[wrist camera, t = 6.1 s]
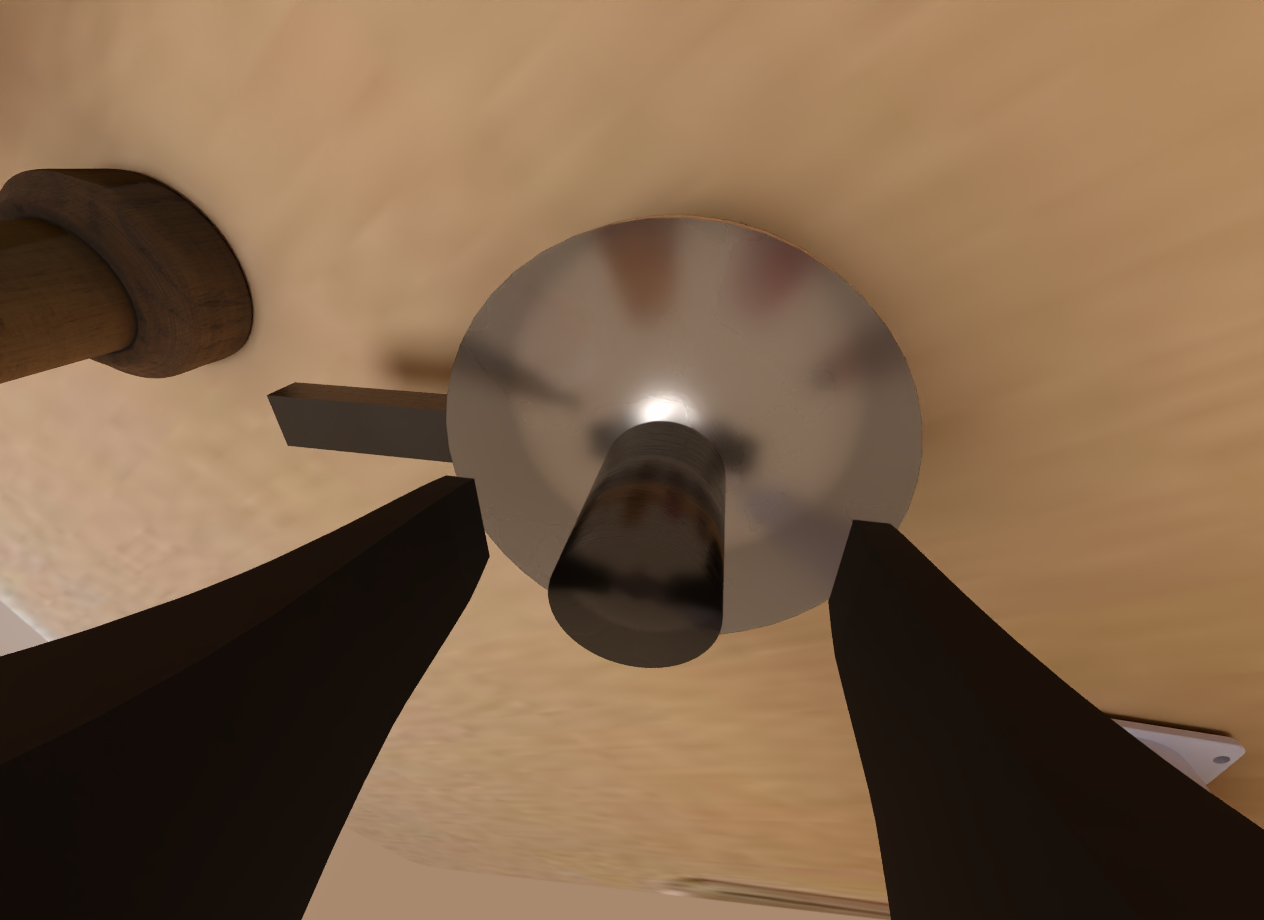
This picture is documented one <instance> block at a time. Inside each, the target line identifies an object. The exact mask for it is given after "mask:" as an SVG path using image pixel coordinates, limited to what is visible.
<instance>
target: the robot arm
mask: <svg viewBox="0 0 1264 920" xmlns="http://www.w3.org/2000/svg"><path fill="white" fill-rule="evenodd" d="M489 557H490V556H489V551H488V546H487V541H486V535H485V530H484V525H483V520H482V515H481V510H480V505H479V500H478V495H477V490H476V485H475V480H474V478H465V477H455V476H444V477H442V478H439V479H437V480H434V481H432V482H430V483H428V484H426V485H424V486H422V487H420V488H418V489H416V490H413V491H411V492H409V493H408V494H406V495H404V496H402V497H400V498H398V499H396V500H394V501H392V502H390V503H388V504H386V505H384V506H382V507H380V508H378V509H376V510H374V511H372V512H370V513H368V514H367V515H365V516H363V517H361V518H359V519H357V520H355V521H353V522H351V523H349V524H347V525H345V526H343V527H341V528H339V529H337V530H335V531H333V532H331V533H329V534H327V535H324V536H322V537H320V538H318V539H316V540H314V541H312V542H310V543H308V544H306V545H303V546H301V547H299V548H297V549H295V550H293V551H291V552H289V553H287V554H284V555H282V556H280V557H278V558H276V559H274V560H272V561H269V562H267V563H265V564H262V565H260V566H258V567H256V568H253V569H251V570H249V571H246V572H244V573H241V574H239V575H237V576H234V577H232V578H229V579H227V580H224V581H222V582H219V583H217V584H214V585H212V586H209V587H207V588H204V589H202V590H199V591H197V592H194V593H191V594H189V595H186V596H183V597H181V598H178V599H175V600H172V601H170V602H167V603H164V604H161V605H158V606H155V607H152V608H149V609H147V610H144V611H141V612H138V613H135V614H132V615H129V616H126V617H124V618H121V619H118V620H115V621H112V622H109V623H106V624H103V625H101V626H98V627H95V628H92V629H89V630H86V631H83V632H80V633H76V634H73V635H70V636H67V637H63V638H60V639H57V640H54V641H50V642H47V643H44V644H41V645H38V646H35V647H31V648H28V649H25V650H21V651H17V652H14V653H11V654H7V655H4V656H0V920H301V919H302V917H303V915H304V913H305V910H306V908H307V906H308V903H309V901H310V899H311V897H312V894H313V892H314V890H315V888H316V885H317V883H318V881H319V878H320V876H321V874H322V872H323V869H324V867H325V865H326V863H327V860H328V858H329V856H330V854H331V851H332V849H333V847H334V845H335V843H336V840H337V838H338V836H339V834H340V832H341V830H342V828H343V826H344V824H345V821H346V819H347V817H348V815H349V813H350V811H351V809H352V807H353V805H354V802H355V800H356V798H357V796H358V794H359V792H360V790H361V788H362V786H363V783H364V781H365V779H366V777H367V776H368V774H369V772H370V770H371V768H372V766H373V764H374V762H375V760H376V758H377V756H378V754H379V752H380V750H381V748H382V746H383V744H384V742H385V740H386V738H387V736H388V734H389V732H390V730H391V728H392V726H393V724H394V723H395V721H396V719H397V718H398V716H399V714H400V712H401V711H402V709H403V707H404V705H405V704H406V702H407V700H408V699H409V697H410V696H411V694H412V692H413V691H414V689H415V688H416V686H417V684H418V683H419V681H420V680H421V678H422V676H423V675H424V673H425V672H426V670H427V669H428V667H429V665H430V664H431V662H432V661H433V659H434V657H435V656H436V654H437V653H438V651H439V649H440V648H441V646H442V645H443V643H444V642H445V640H446V638H447V637H448V635H449V634H450V632H451V630H452V629H453V627H454V625H455V624H456V622H457V621H458V619H459V617H460V616H461V614H462V612H463V611H464V609H465V607H466V606H467V604H468V602H469V601H470V599H471V597H472V595H473V593H474V590H475V588H476V586H477V584H478V582H479V580H480V577H481V575H482V573H483V570H484V568H485V566H486V564H487V561H488V559H489ZM828 603H829V612H830V621H831V630H832V638H833V645H834V653H835V658H836V662H837V666H838V670H839V674H840V679H841V683H842V687H843V691H844V695H845V699H846V703H847V707H848V710H849V714H850V718H851V722H852V726H853V730H854V734H855V738H856V742H857V746H858V750H859V753H860V757H861V761H862V765H863V769H864V773H865V777H866V781H867V785H868V789H869V793H870V798H871V803H872V807H873V812H874V816H875V821H876V827H877V833H878V839H879V845H880V851H881V858H882V864H883V870H884V876H885V883H886V889H887V895H888V902H889V909H890V915H891V920H1264V830H1263V829H1262V828H1261V827H1259V826H1258V825H1256V824H1255V823H1253V822H1252V821H1251V820H1249V819H1248V818H1246V817H1245V816H1243V815H1242V814H1240V813H1239V812H1238V811H1236V810H1235V809H1233V808H1232V807H1230V806H1229V805H1227V804H1226V803H1225V802H1223V801H1222V800H1220V799H1219V798H1217V797H1216V796H1214V795H1213V794H1212V792H1211V791H1210V790H1209V789H1208V787H1207V786H1206V785H1207V784H1209V783H1210V782H1211V781H1212V780H1214V779H1215V778H1216V777H1217V776H1218V775H1220V774H1221V773H1222V772H1223V771H1224V770H1226V769H1227V768H1228V767H1229V766H1231V765H1232V764H1233V763H1234V762H1235V761H1237V760H1238V759H1239V758H1240V757H1241V756H1243V755H1244V753H1245V748H1244V747H1243V746H1242V745H1241V744H1240V743H1239V742H1238V741H1237V740H1236V739H1234V738H1231V737H1226V736H1220V735H1213V734H1207V733H1201V732H1194V731H1188V730H1181V729H1175V728H1169V727H1162V726H1156V725H1149V724H1143V723H1137V722H1130V721H1124V720H1117V719H1111V718H1109V717H1108V716H1107V715H1105V714H1104V713H1103V712H1102V711H1100V710H1099V709H1098V708H1096V707H1095V706H1094V705H1093V704H1091V703H1090V702H1089V701H1088V700H1086V699H1085V698H1084V697H1083V696H1081V695H1080V694H1079V693H1078V692H1076V691H1075V690H1074V689H1073V688H1071V687H1070V686H1069V685H1068V684H1066V683H1065V682H1064V681H1063V680H1062V679H1060V678H1059V677H1058V676H1057V675H1056V674H1055V673H1053V672H1052V671H1051V670H1050V669H1049V668H1048V667H1046V666H1045V665H1044V664H1043V663H1042V662H1040V661H1039V660H1038V659H1037V658H1036V657H1035V656H1033V655H1032V654H1031V653H1030V652H1029V651H1027V650H1026V649H1025V648H1024V647H1023V646H1022V645H1020V644H1019V643H1018V642H1017V641H1016V640H1015V639H1014V638H1012V637H1011V636H1010V635H1009V634H1008V633H1007V632H1006V631H1005V630H1003V629H1002V628H1001V627H1000V626H999V625H998V624H997V623H996V622H994V621H993V620H992V619H991V618H990V617H989V616H988V615H987V614H986V613H985V612H984V611H982V610H981V609H980V608H979V607H978V606H977V605H976V604H975V603H974V602H973V601H972V600H971V599H970V598H968V597H967V596H966V595H965V594H964V593H963V592H962V591H961V590H960V589H959V588H958V587H957V586H956V585H955V584H954V583H953V582H951V581H950V580H949V579H948V578H947V577H946V576H945V575H944V574H943V573H942V572H941V571H940V570H939V569H938V568H937V567H936V566H935V565H934V564H933V563H932V562H931V561H930V560H929V559H928V558H927V557H926V556H924V555H923V554H922V553H921V552H920V551H919V550H918V549H917V548H916V547H915V546H914V545H913V544H912V543H911V542H910V541H909V540H908V539H907V538H906V537H905V536H904V535H903V534H901V533H900V532H899V531H898V530H897V529H896V528H895V527H894V526H893V525H891V524H890V523H881V522H872V521H862V520H853V522H852V526H851V529H850V532H849V536H848V539H847V542H846V545H845V549H844V552H843V555H842V559H841V562H840V565H839V569H838V572H837V575H836V578H835V582H834V585H833V588H832V592H831V595H830V598H829V602H828Z"/></svg>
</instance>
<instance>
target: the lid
mask: <svg viewBox="0 0 1264 920" xmlns="http://www.w3.org/2000/svg"><path fill="white" fill-rule="evenodd" d="M446 425H447V434H448V443H449V449H450V453H451V457H452V461H453V465H454V469H455V473H456V475H457V477H465V478H474V480H475V485H476V490H477V495H478V500H479V505H480V510H481V515H482V520H483V525H484V529H485V531H486V532H487V534H488V535H489V537H490V538H491V539H492V540H493V541H494V542H495V544H496V545H497V546H498V547H499V548H500V549H501V551H502V552H503V553H504V554H505V555H506V556H507V557H508V558H509V559H510V560H511V561H512V562H513V563H514V564H515V565H516V566H517V567H518V568H520V569H521V570H522V571H523V572H524V573H525V574H527V575H528V576H529V577H531V578H532V579H533V580H534V581H536V582H537V583H538V584H539V585H541V586H542V587H544V588H545V589H547V590H548V598H549V604H550V607H551V610H552V612H553V614H554V616H555V618H556V620H557V622H558V623H559V625H560V626H561V627H562V628H563V630H564V631H565V632H566V633H567V634H568V635H569V636H570V637H571V638H572V639H573V640H574V641H576V642H577V643H578V644H580V645H581V646H582V647H584V648H586V649H587V650H589V651H590V652H592V653H594V654H596V655H598V656H600V657H603V658H605V659H607V660H610V661H613V662H616V663H620V664H624V665H628V666H634V667H643V668H662V667H670V666H675V665H679V664H682V663H685V662H688V661H690V660H692V659H695V658H697V657H698V656H700V655H701V654H703V653H704V652H705V651H706V650H708V649H709V648H710V647H711V646H712V644H713V643H714V642H715V641H716V639H717V637H718V635H719V634H725V633H733V632H740V631H747V630H751V629H755V628H759V627H763V626H768V625H772V624H775V623H777V622H780V621H783V620H786V619H789V618H792V617H794V616H797V615H799V614H801V613H803V612H805V611H807V610H809V609H812V608H814V607H816V606H818V605H820V604H821V603H823V602H824V601H826V600H828V599H829V598H830V595H831V592H832V588H833V585H834V582H835V578H836V575H837V572H838V569H839V565H840V562H841V559H842V555H843V552H844V549H845V545H846V542H847V539H848V536H849V532H850V529H851V526H852V522H853V520H862V521H872V522H881V523H890V524H891V525H893V526H894V527H895V528H896V529H897V530H898V528H899V526H900V524H901V522H902V520H903V518H904V516H905V514H906V512H907V510H908V508H909V505H910V502H911V499H912V496H913V493H914V490H915V487H916V484H917V481H918V475H919V469H920V463H921V457H922V419H921V413H920V407H919V402H918V396H917V390H916V387H915V385H914V382H913V379H912V376H911V373H910V371H909V368H908V365H907V362H906V359H905V357H904V356H903V354H902V352H901V350H900V348H899V347H898V345H897V343H896V341H895V339H894V338H893V336H892V334H891V332H890V331H889V329H888V327H887V326H886V325H885V323H884V322H883V321H882V320H881V318H880V317H879V316H878V315H877V313H876V312H875V311H874V310H873V308H872V307H871V306H870V305H869V303H868V302H867V301H866V300H865V299H864V298H863V297H862V296H861V295H860V294H859V293H858V292H857V291H856V290H854V289H853V288H852V287H851V286H850V285H849V284H848V283H847V282H846V281H845V280H843V279H842V278H841V277H840V276H839V275H838V274H837V273H836V272H835V271H833V270H832V269H831V268H830V267H829V266H828V265H826V264H825V263H823V262H821V261H820V260H818V259H817V258H815V257H814V256H812V255H811V254H809V253H808V252H806V251H805V250H803V249H802V248H800V247H799V246H797V245H795V244H792V243H790V242H788V241H786V240H784V239H782V238H779V237H777V236H775V235H773V234H771V233H768V232H766V231H764V230H761V229H757V228H754V227H750V226H747V225H743V224H740V223H736V222H733V221H729V220H724V219H716V218H709V217H701V216H694V215H663V216H649V217H643V218H636V219H630V220H624V221H618V222H615V223H612V224H609V225H606V226H603V227H600V228H597V229H593V230H590V231H587V232H584V233H581V234H579V235H576V236H573V237H571V238H569V239H567V240H565V241H563V242H561V243H559V244H557V245H555V246H553V247H551V248H549V249H547V250H545V251H543V252H541V253H540V254H539V255H537V256H536V257H534V258H533V259H532V260H530V261H529V262H527V263H526V264H525V265H523V266H522V267H520V268H519V269H518V270H516V271H515V272H514V273H513V274H512V275H511V276H510V277H509V278H508V279H507V280H506V281H505V282H504V283H503V284H501V285H500V286H499V287H498V288H497V289H496V290H495V291H494V292H493V293H492V294H491V296H490V297H489V298H488V300H487V301H486V303H485V304H484V305H483V307H482V308H481V309H480V311H479V312H478V313H477V315H476V316H475V317H474V319H473V321H472V323H471V325H470V327H469V329H468V330H467V332H466V334H465V336H464V338H463V340H462V342H461V344H460V347H459V350H458V353H457V356H456V359H455V362H454V365H453V368H452V371H451V376H450V382H449V388H448V393H447V413H446Z"/></svg>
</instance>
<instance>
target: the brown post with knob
mask: <svg viewBox="0 0 1264 920" xmlns="http://www.w3.org/2000/svg"><path fill="white" fill-rule="evenodd" d="M251 320H252V307H251V301H250V297H249V292H248V289H247V286H246V283H245V280H244V277H243V275H242V272H241V270H240V268H239V266H238V263H237V261H236V259H235V257H234V255H233V254H232V252H231V251H230V249H229V248H228V246H227V245H226V243H225V242H224V240H223V239H222V238H221V236H220V235H219V233H218V232H217V231H216V229H215V228H214V227H213V226H212V225H211V224H210V222H209V221H208V220H207V219H206V218H205V217H203V216H202V215H201V214H200V213H199V212H198V211H197V210H196V209H195V208H194V207H193V206H192V205H191V204H189V203H188V202H187V201H186V200H185V199H183V198H182V197H181V196H180V195H178V194H177V193H175V192H174V191H172V190H171V189H169V188H168V187H166V186H164V185H163V184H161V183H159V182H157V181H155V180H153V179H151V178H149V177H146V176H144V175H141V174H139V173H135V172H131V171H126V170H119V169H36V170H29V171H25V172H21V173H19V174H17V175H15V176H13V177H12V178H10V179H9V180H8V181H7V182H6V183H5V185H4V186H3V188H2V189H1V191H0V384H1V383H4V382H8V381H11V380H15V379H18V378H22V377H25V376H29V375H32V374H36V373H39V372H43V371H46V370H50V369H53V368H57V367H60V366H64V365H67V364H71V363H75V362H78V361H82V360H85V359H89V358H90V359H92V360H94V361H97V362H99V363H102V364H105V365H108V366H110V367H113V368H115V369H117V370H120V371H122V372H125V373H128V374H131V375H135V376H139V377H145V378H166V377H171V376H175V375H179V374H182V373H185V372H187V371H190V370H193V369H195V368H198V367H200V366H203V365H206V364H209V363H213V362H216V361H219V360H221V359H224V358H226V357H228V356H230V355H232V354H234V353H235V352H236V351H238V350H239V349H240V348H241V347H242V346H243V344H244V343H245V341H246V339H247V337H248V335H249V332H250V328H251Z"/></svg>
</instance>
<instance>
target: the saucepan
mask: <svg viewBox="0 0 1264 920" xmlns="http://www.w3.org/2000/svg"><path fill="white" fill-rule="evenodd" d="M740 224H743V223H740ZM745 225H746V224H745ZM747 226H748V225H747ZM267 397H268V399H269V402H270V404H271V406H272V409H273V411H274V414H275V416H276V418H277V421H278V423H279V426H280V428H281V430H282V433H283V435H284V438H285V440H286V442H287V445H288V446H297V447H306V448H316V449H326V450H336V451H345V452H355V453H365V454H374V455H384V456H394V457H404V458H413V459H423V460H433V461H442V462H452V463H453V461H452V457H451V453H450V449H449V443H448V434H447V425H446V413H447V394H435V393H422V392H410V391H397V390H384V389H372V388H359V387H347V386H334V385H321V384H309V383H296V382H295V383H293V384H290V385H288V386H286V387H284V388H282V389H280V390H277V391H275V392H273V393H271V394H269V395H267Z"/></svg>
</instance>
